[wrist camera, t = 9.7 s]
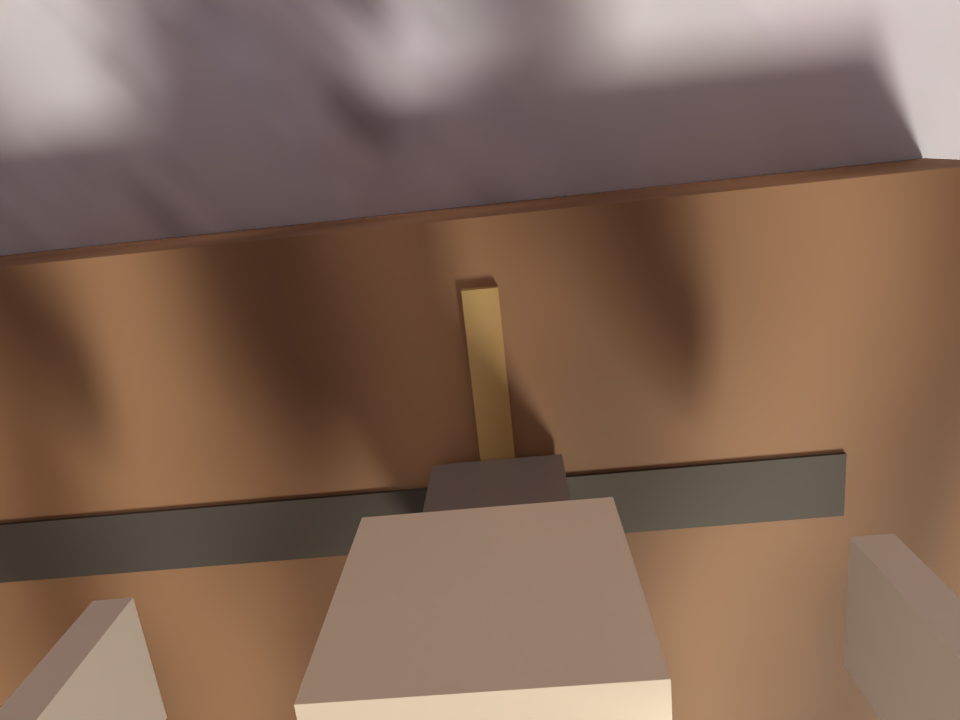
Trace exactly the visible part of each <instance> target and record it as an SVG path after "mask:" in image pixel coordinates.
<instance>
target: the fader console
mask: <svg viewBox="0 0 960 720" xmlns="http://www.w3.org/2000/svg"><path fill="white" fill-rule="evenodd" d="M557 454H562V458H563V463H564V468H565V473H566V478H567V483H568V488H569V493H570V498H571V500H581V499H593V498H605V497H613V499H614V502H615V505H616V508H617V511H618V514H619V517H620V521H621V524H622V527H623V530H624V533H625V536H626V539H627V543H628V546H629V549H630V552H631V555H632V558H633V561H634V565H635V568H636V571H637V574H638V577H639V580H640V583H641V587H642V590H643V593H644V596H645V599H646V602H647V605H648V609H649V612H650V615H651V618H652V621H653V624H654V627H655V631H656V634H657V637H658V640H659V643H660V646H661V650H662V653H663V656H664V659H665V662H666V665H667V668H668V672H669V675H670V678H671V696H672V720H880V719H879V717H878V716H877V714H876V713H875V711H874V710H873V708H872V707H871V705H870V704H869V702H868V701H867V699H866V698H865V696H864V695H863V693H862V692H861V691H860V689H859V688H858V686H857V685H856V683H855V682H854V680H853V679H852V677H851V676H850V674H849V673H848V671H847V670H846V668H845V667H844V654H845V633H846V611H847V590H848V569H849V547H850V537H859V536H871V535H883V534H895V535H896V536H897V537H898V538H899V539H900V540H901V541H902V542H903V543H904V544H905V545H906V546H907V547H908V548H909V549H910V550H911V551H912V552H913V553H914V554H915V555H916V556H917V557H919V558H920V559H921V560H922V561H923V562H924V563H925V564H926V565H927V566H928V567H929V568H930V569H931V570H932V571H933V572H934V573H935V574H936V575H937V576H938V577H939V578H940V579H941V580H942V581H943V582H944V583H945V584H946V585H947V586H948V587H949V588H950V589H951V590H953V591H954V592H955V593H956V594H957V595H958V596H959V597H960V160H951V159H928V158H923V159H913V160H904V161H894V162H885V163H875V164H866V165H856V166H847V167H838V168H828V169H819V170H809V171H800V172H790V173H781V174H771V175H762V176H752V177H743V178H733V179H724V180H715V181H705V182H696V183H686V184H677V185H667V186H658V187H648V188H639V189H629V190H620V191H610V192H601V193H592V194H582V195H573V196H563V197H554V198H544V199H535V200H525V201H516V202H506V203H497V204H488V205H478V206H469V207H459V208H450V209H440V210H431V211H421V212H412V213H402V214H393V215H383V216H374V217H365V218H355V219H346V220H336V221H327V222H317V223H308V224H298V225H289V226H279V227H270V228H260V229H251V230H242V231H232V232H223V233H213V234H204V235H194V236H185V237H175V238H166V239H156V240H147V241H138V242H128V243H119V244H109V245H100V246H90V247H81V248H71V249H62V250H52V251H43V252H33V253H24V254H15V255H5V256H0V707H1V706H2V705H3V704H4V703H5V702H6V700H7V699H8V698H9V697H10V696H11V695H12V693H13V692H14V691H15V690H16V689H17V688H18V687H19V685H20V684H21V683H22V682H23V681H24V680H25V679H26V677H27V676H28V675H29V674H30V673H31V672H32V670H33V669H34V668H35V667H36V666H37V665H38V664H39V662H40V661H41V660H42V659H43V658H44V657H45V656H46V654H47V653H48V652H49V651H50V650H51V649H52V647H53V646H54V645H55V644H56V643H57V642H58V641H59V639H60V638H61V637H62V636H63V635H64V634H65V633H66V631H67V630H68V629H69V628H70V627H71V626H72V624H73V623H74V622H75V621H76V620H77V619H78V618H79V616H80V615H81V614H82V613H83V612H84V611H85V610H86V608H87V607H88V606H89V605H90V604H91V603H92V601H96V600H108V599H120V598H132V597H133V599H134V603H135V606H136V610H137V613H138V617H139V620H140V624H141V627H142V631H143V635H144V638H145V642H146V645H147V649H148V652H149V656H150V659H151V663H152V666H153V670H154V673H155V677H156V681H157V684H158V688H159V691H160V695H161V698H162V702H163V705H164V709H165V712H166V716H167V718H166V720H297V717H296V712H295V708H294V703H295V700H296V698H297V695H298V692H299V689H300V687H301V684H302V681H303V678H304V676H305V673H306V670H307V667H308V665H309V662H310V659H311V656H312V654H313V651H314V648H315V645H316V643H317V640H318V637H319V634H320V632H321V629H322V626H323V623H324V621H325V618H326V615H327V612H328V610H329V607H330V604H331V601H332V599H333V596H334V593H335V590H336V588H337V585H338V582H339V579H340V577H341V574H342V571H343V568H344V566H345V563H346V560H347V557H348V555H349V552H350V549H351V546H352V544H353V541H354V538H355V535H356V533H357V530H358V527H359V524H360V522H361V519H362V517H374V516H386V515H399V514H411V513H423V508H424V503H425V499H426V494H427V489H428V484H429V479H430V474H431V469H432V465H441V464H453V463H464V462H476V461H488V460H499V459H511V458H522V457H534V456H546V455H557Z"/></svg>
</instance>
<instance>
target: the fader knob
mask: <svg viewBox="0 0 960 720" xmlns="http://www.w3.org/2000/svg"><path fill="white" fill-rule="evenodd" d="M294 708H295V712H296V717H297V720H672V696H671V678H670V675H669V672H668V668H667V665H666V662H665V659H664V656H663V653H662V650H661V646H660V643H659V640H658V637H657V634H656V631H655V627H654V624H653V621H652V618H651V615H650V612H649V609H648V605H647V602H646V599H645V596H644V593H643V590H642V587H641V583H640V580H639V577H638V574H637V571H636V568H635V565H634V561H633V558H632V555H631V552H630V549H629V546H628V543H627V539H626V536H625V533H624V530H623V527H622V524H621V521H620V517H619V514H618V511H617V508H616V505H615V502H614V499H613V497H605V498H593V499H581V500H571V498H570V493H569V488H568V483H567V478H566V473H565V468H564V463H563V458H562V454H557V455H546V456H534V457H522V458H511V459H499V460H488V461H476V462H464V463H453V464H441V465H432V469H431V474H430V479H429V484H428V489H427V494H426V499H425V503H424V508H423V513H411V514H399V515H386V516H374V517H362V519H361V522H360V524H359V527H358V530H357V533H356V535H355V538H354V541H353V544H352V546H351V549H350V552H349V555H348V557H347V560H346V563H345V566H344V568H343V571H342V574H341V577H340V579H339V582H338V585H337V588H336V590H335V593H334V596H333V599H332V601H331V604H330V607H329V610H328V612H327V615H326V618H325V621H324V623H323V626H322V629H321V632H320V634H319V637H318V640H317V643H316V645H315V648H314V651H313V654H312V656H311V659H310V662H309V665H308V667H307V670H306V673H305V676H304V678H303V681H302V684H301V687H300V689H299V692H298V695H297V698H296V700H295V703H294Z"/></svg>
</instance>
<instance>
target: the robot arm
mask: <svg viewBox="0 0 960 720" xmlns="http://www.w3.org/2000/svg"><path fill="white" fill-rule="evenodd" d="M844 667H845V668H846V670H847V671H848V673H849V674H850V676H851V677H852V679H853V680H854V682H855V683H856V685H857V686H858V688H859V689H860V691H861V692H862V693H863V695H864V696H865V698H866V699H867V701H868V702H869V704H870V705H871V707H872V708H873V710H874V711H875V713H876V714H877V716H878V717H879V719H880V720H960V597H959V596H958V595H957V594H956V593H955V592H954V591H953V590H951V589H950V588H949V587H948V586H947V585H946V584H945V583H944V582H943V581H942V580H941V579H940V578H939V577H938V576H937V575H936V574H935V573H934V572H933V571H932V570H931V569H930V568H929V567H928V566H927V565H926V564H925V563H924V562H923V561H922V560H921V559H920V558H919V557H917V556H916V555H915V554H914V553H913V552H912V551H911V550H910V549H909V548H908V547H907V546H906V545H905V544H904V543H903V542H902V541H901V540H900V539H899V538H898V537H897V536H896V535H895V534H883V535H871V536H859V537H850V547H849V569H848V590H847V611H846V633H845V654H844ZM166 718H167V716H166V712H165V709H164V705H163V702H162V698H161V695H160V691H159V688H158V684H157V681H156V677H155V673H154V670H153V666H152V663H151V659H150V656H149V652H148V649H147V645H146V642H145V638H144V635H143V631H142V627H141V624H140V620H139V617H138V613H137V610H136V606H135V603H134V599H133V597H132V598H120V599H108V600H96V601H92V603H91V604H90V605H89V606H88V607H87V608H86V610H85V611H84V612H83V613H82V614H81V615H80V616H79V618H78V619H77V620H76V621H75V622H74V623H73V624H72V626H71V627H70V628H69V629H68V630H67V631H66V633H65V634H64V635H63V636H62V637H61V638H60V639H59V641H58V642H57V643H56V644H55V645H54V646H53V647H52V649H51V650H50V651H49V652H48V653H47V654H46V656H45V657H44V658H43V659H42V660H41V661H40V662H39V664H38V665H37V666H36V667H35V668H34V669H33V670H32V672H31V673H30V674H29V675H28V676H27V677H26V679H25V680H24V681H23V682H22V683H21V684H20V685H19V687H18V688H17V689H16V690H15V691H14V692H13V693H12V695H11V696H10V697H9V698H8V699H7V700H6V702H5V703H4V704H3V705H2V706H1V707H0V720H166Z"/></svg>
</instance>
